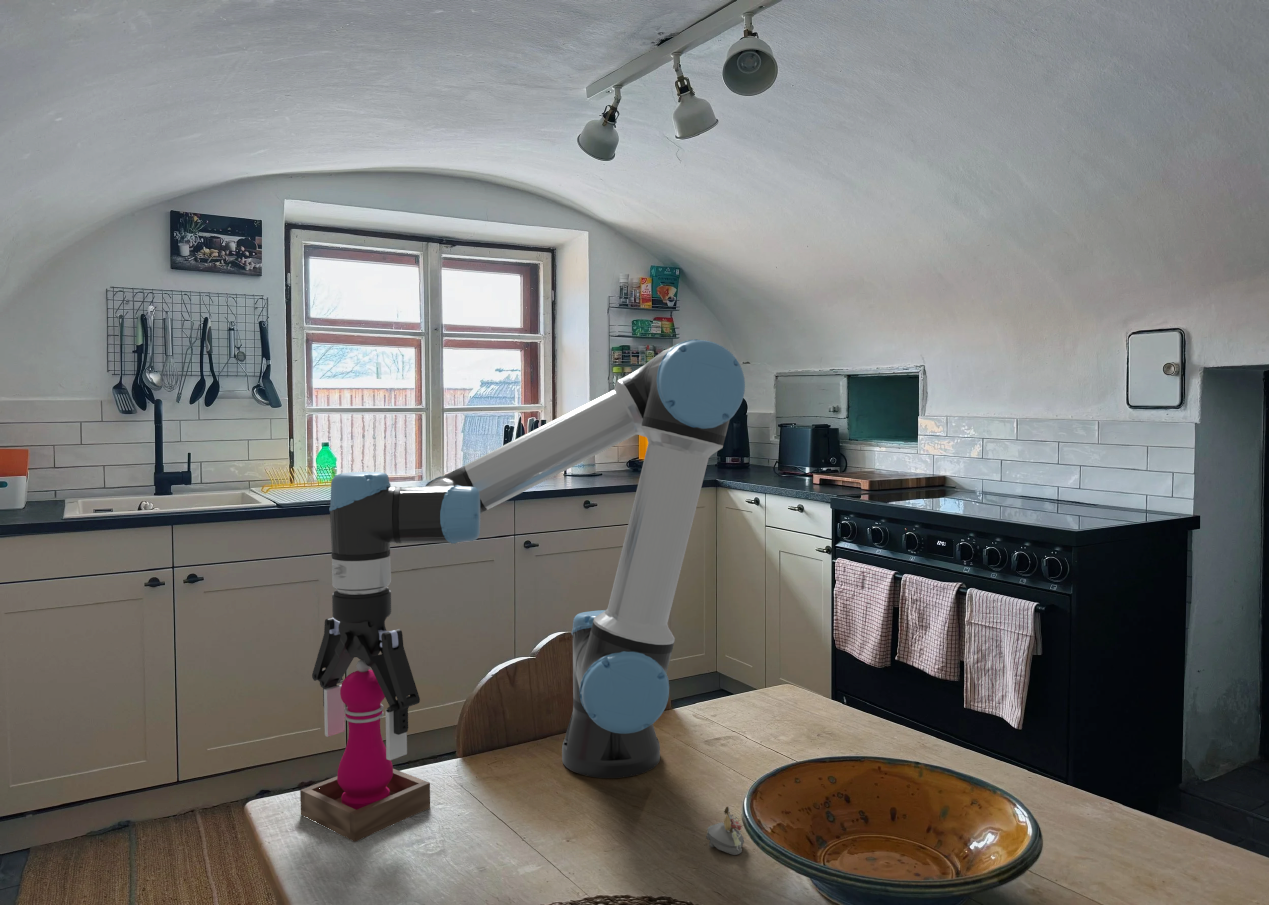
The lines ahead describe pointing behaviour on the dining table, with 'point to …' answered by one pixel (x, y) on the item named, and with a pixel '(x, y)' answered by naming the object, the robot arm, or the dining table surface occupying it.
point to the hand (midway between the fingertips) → (364, 744)
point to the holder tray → (363, 822)
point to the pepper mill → (363, 741)
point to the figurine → (726, 835)
